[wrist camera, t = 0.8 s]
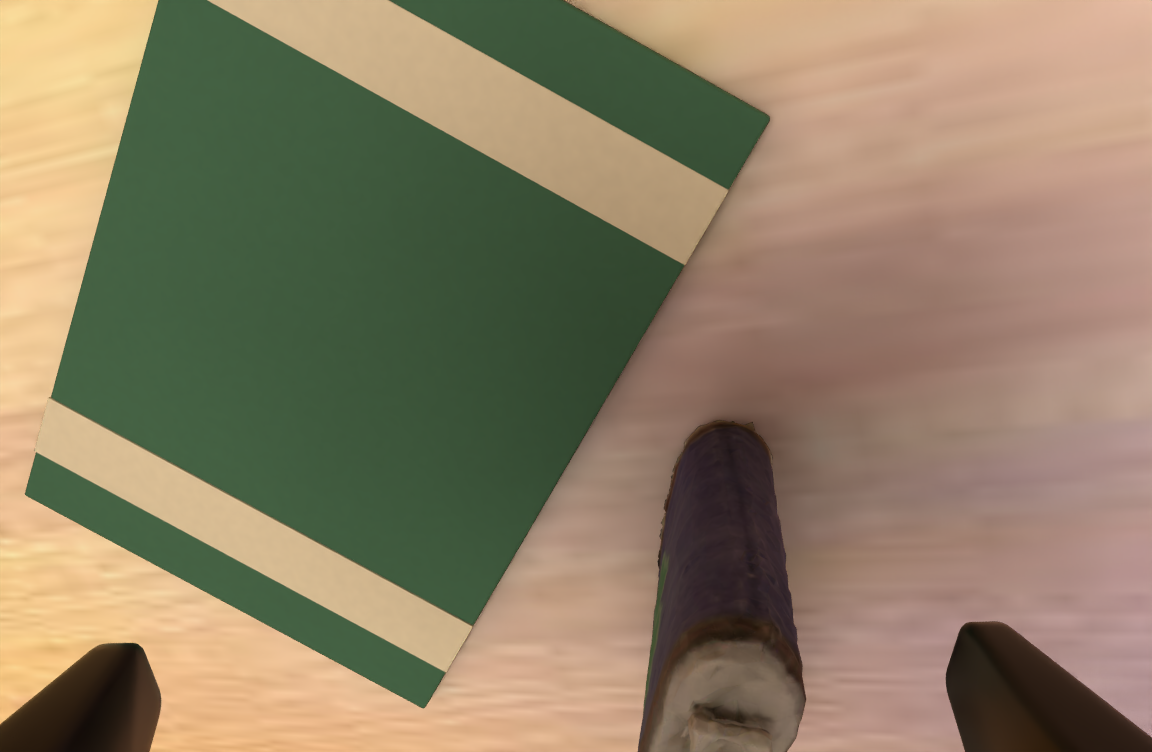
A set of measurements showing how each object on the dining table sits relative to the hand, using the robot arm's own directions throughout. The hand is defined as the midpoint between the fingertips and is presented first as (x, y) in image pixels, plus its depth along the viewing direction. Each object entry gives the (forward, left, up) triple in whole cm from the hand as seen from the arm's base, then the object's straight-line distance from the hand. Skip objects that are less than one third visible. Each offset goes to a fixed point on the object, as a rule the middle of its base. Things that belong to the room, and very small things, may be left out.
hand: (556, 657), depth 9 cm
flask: (-5, +5, -13) cm, 15 cm away
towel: (+7, +4, -13) cm, 15 cm away
